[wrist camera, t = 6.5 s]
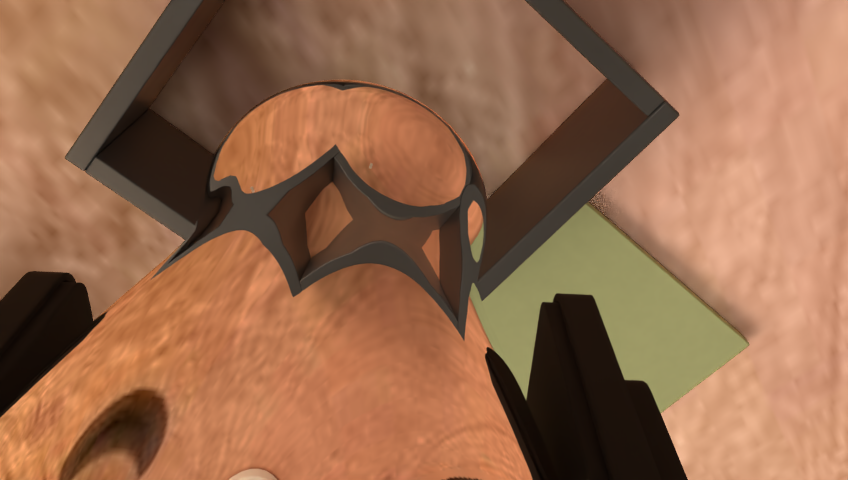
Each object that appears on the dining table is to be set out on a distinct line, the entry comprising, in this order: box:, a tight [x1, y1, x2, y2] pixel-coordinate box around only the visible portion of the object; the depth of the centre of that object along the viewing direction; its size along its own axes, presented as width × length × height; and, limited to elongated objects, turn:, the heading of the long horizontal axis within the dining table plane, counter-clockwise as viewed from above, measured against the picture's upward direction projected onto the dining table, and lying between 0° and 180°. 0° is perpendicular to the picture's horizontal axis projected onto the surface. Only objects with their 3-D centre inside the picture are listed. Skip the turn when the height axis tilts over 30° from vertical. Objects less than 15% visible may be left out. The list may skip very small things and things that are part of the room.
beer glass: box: [0, 80, 559, 480], centre depth 9 cm, size 7×7×15 cm
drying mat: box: [482, 202, 749, 413], centre depth 33 cm, size 20×11×1 cm, turn 139°
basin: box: [65, 0, 679, 301], centre depth 24 cm, size 13×13×5 cm
